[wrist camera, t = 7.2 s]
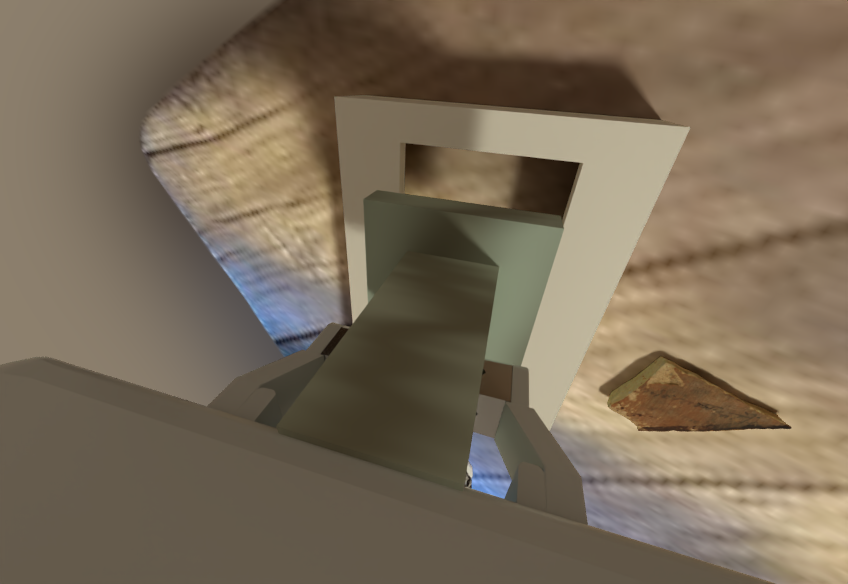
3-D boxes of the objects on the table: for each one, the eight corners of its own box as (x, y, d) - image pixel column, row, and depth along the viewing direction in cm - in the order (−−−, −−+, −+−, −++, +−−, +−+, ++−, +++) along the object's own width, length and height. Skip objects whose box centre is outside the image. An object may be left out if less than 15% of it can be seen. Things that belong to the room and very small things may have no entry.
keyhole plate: (661, 120, 18) (692, 127, 15) (540, 411, 32) (541, 449, 29) (363, 94, 21) (332, 96, 18) (374, 367, 36) (357, 397, 32)
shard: (780, 412, 26) (795, 431, 24) (695, 451, 30) (704, 470, 29) (663, 348, 26) (671, 364, 24) (595, 397, 30) (599, 413, 29)
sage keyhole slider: (560, 215, 13) (624, 455, 4) (517, 358, 17) (508, 617, 9) (376, 190, 15) (162, 332, 6) (379, 326, 19) (258, 521, 10)
